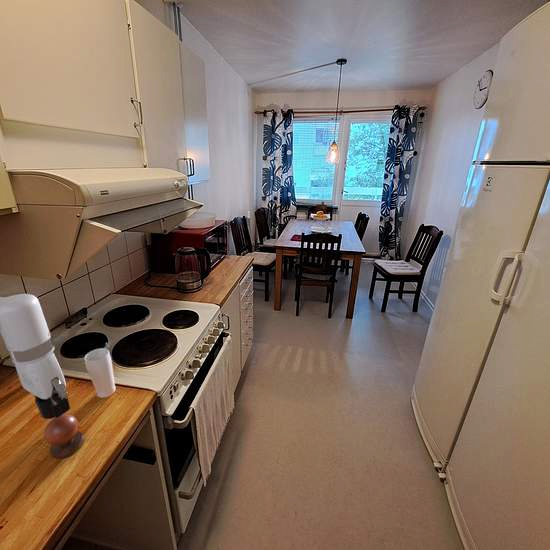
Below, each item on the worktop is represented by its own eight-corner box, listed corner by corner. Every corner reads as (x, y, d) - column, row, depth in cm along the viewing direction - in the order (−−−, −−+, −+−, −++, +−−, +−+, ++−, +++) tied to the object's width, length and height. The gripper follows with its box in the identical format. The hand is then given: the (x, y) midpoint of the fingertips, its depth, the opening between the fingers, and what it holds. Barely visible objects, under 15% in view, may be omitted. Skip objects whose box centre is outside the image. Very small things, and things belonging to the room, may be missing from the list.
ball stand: (62, 464, 71) (51, 436, 67) (45, 452, 74) (33, 425, 70) (90, 440, 77) (81, 413, 73) (73, 430, 80) (64, 404, 76)
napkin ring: (50, 422, 67) (43, 406, 65) (36, 413, 69) (30, 398, 67) (74, 405, 72) (69, 389, 70) (60, 397, 74) (55, 382, 72)
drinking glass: (91, 392, 93) (80, 354, 87) (114, 381, 97) (104, 345, 92) (98, 404, 88) (87, 365, 83) (121, 392, 93) (112, 354, 87)
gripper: (-9, 347, 64) (18, 407, 71) (35, 369, 57) (60, 434, 64) (29, 330, 70) (50, 387, 77) (73, 349, 63) (92, 409, 70)
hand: (54, 408), depth 70 cm, fingers closed on napkin ring, 5 cm apart
